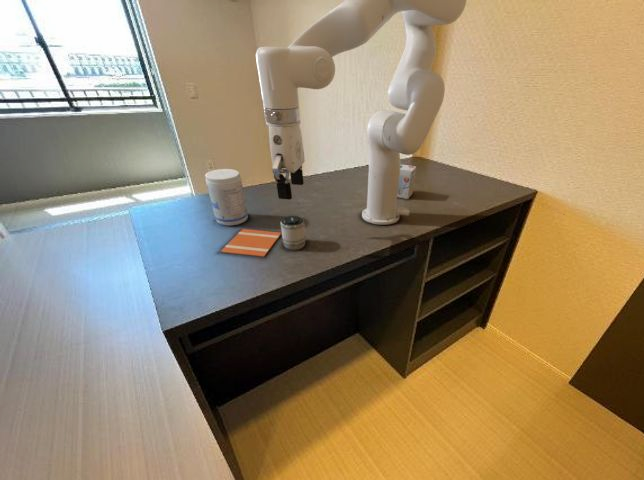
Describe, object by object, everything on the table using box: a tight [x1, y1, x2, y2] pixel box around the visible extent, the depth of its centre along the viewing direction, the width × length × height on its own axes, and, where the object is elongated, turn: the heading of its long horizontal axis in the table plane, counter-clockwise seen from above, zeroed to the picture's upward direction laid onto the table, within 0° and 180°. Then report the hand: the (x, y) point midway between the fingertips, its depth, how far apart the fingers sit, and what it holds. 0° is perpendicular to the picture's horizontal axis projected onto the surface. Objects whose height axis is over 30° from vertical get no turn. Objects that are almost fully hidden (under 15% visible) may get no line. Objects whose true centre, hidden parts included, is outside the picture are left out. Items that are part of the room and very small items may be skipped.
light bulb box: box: [397, 163, 417, 200], centre depth 114 cm, size 11×7×11 cm, turn 68°
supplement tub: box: [204, 168, 249, 227], centre depth 90 cm, size 10×10×15 cm
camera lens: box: [279, 215, 307, 251], centre depth 81 cm, size 6×6×8 cm
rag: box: [220, 228, 282, 258], centre depth 84 cm, size 12×13×1 cm
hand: (291, 191), depth 76 cm, fingers open, 9 cm apart
